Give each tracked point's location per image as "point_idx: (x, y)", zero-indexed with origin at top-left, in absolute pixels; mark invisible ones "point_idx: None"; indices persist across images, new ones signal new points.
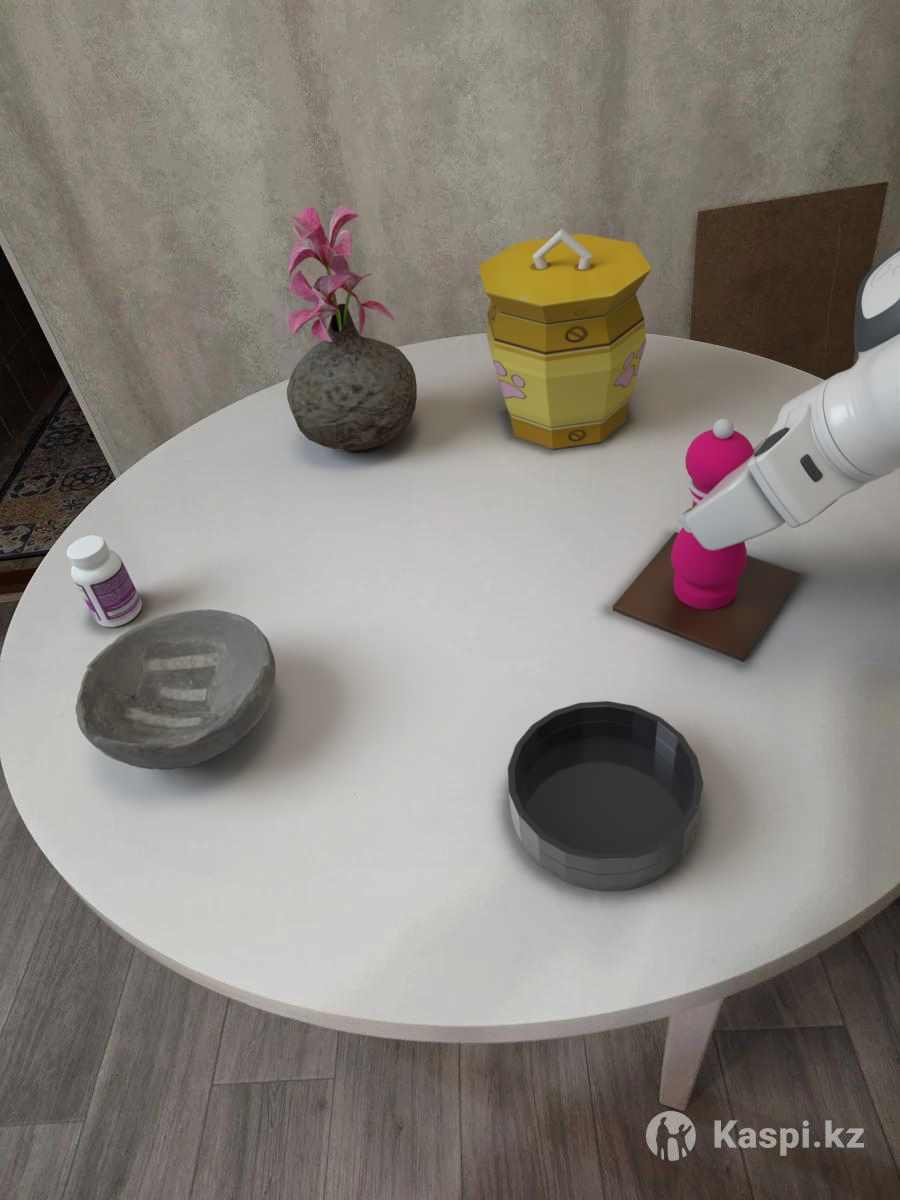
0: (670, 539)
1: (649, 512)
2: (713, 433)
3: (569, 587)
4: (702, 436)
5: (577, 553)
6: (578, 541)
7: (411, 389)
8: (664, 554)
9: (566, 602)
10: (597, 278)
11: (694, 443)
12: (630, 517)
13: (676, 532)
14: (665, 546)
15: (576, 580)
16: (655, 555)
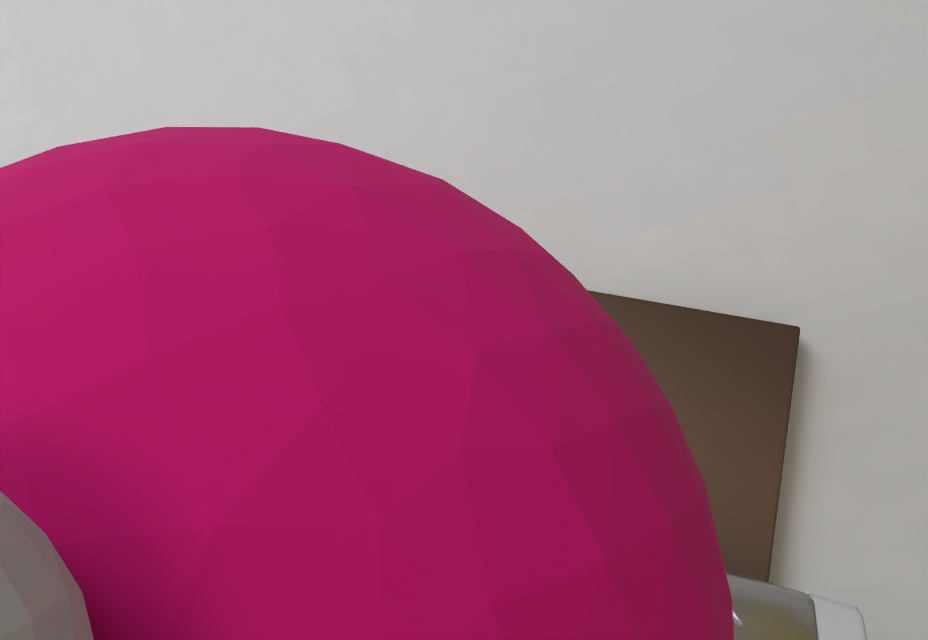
0: (741, 322)
1: (910, 190)
2: (39, 448)
3: (370, 77)
4: (59, 238)
5: (554, 34)
6: (622, 12)
7: None
8: (637, 327)
9: (296, 96)
10: None
11: (6, 170)
12: (844, 133)
13: (796, 332)
14: (688, 316)
15: (412, 84)
16: (617, 296)
